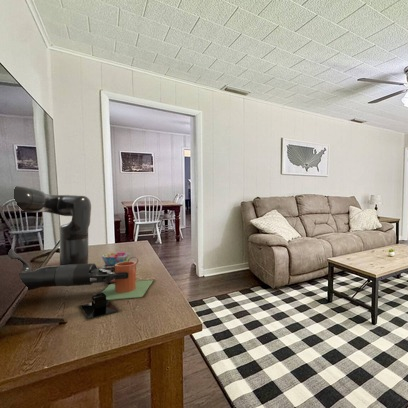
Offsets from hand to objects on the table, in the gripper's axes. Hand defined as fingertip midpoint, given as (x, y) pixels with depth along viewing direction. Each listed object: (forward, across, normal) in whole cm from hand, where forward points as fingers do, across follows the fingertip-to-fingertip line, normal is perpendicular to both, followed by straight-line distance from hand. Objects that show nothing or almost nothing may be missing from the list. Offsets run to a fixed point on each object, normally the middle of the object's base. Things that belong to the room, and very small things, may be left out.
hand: (131, 271), depth 106 cm
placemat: (-2, 0, +7) cm, 7 cm away
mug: (-7, +12, +7) cm, 16 cm away
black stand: (-5, -16, +7) cm, 18 cm away
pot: (-2, 0, +7) cm, 7 cm away
